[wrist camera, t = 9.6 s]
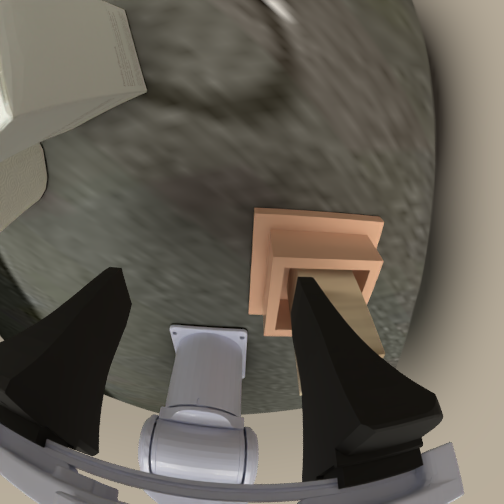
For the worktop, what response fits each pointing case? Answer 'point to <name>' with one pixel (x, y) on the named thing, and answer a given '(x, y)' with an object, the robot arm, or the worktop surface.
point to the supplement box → (61, 67)
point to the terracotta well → (307, 256)
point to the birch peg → (340, 302)
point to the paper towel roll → (21, 183)
